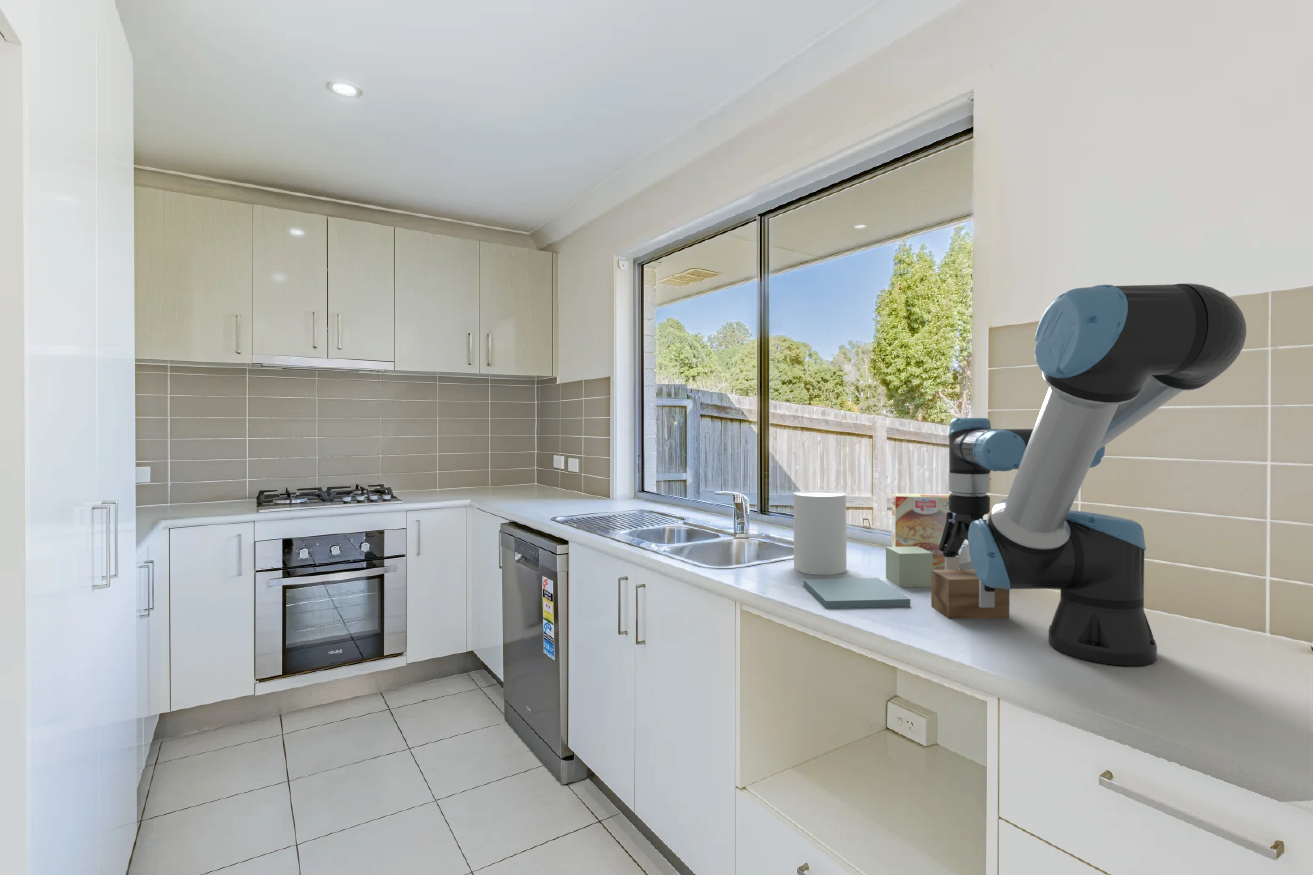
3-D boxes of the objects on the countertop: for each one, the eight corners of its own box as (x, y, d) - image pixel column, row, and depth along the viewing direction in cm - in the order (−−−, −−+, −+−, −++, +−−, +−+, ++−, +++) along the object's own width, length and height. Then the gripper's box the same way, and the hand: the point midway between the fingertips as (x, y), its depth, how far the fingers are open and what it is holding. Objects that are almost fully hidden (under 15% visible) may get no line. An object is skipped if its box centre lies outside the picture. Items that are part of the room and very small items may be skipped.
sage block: (932, 586, 150) (932, 553, 150) (899, 587, 150) (899, 553, 149) (917, 578, 158) (917, 546, 158) (885, 578, 158) (885, 546, 157)
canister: (836, 561, 176) (835, 490, 176) (854, 573, 163) (853, 496, 162) (788, 563, 175) (787, 491, 175) (802, 575, 162) (801, 497, 161)
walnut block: (1009, 618, 126) (1009, 578, 126) (948, 619, 126) (948, 579, 126) (988, 606, 134) (988, 569, 134) (931, 607, 134) (931, 569, 134)
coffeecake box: (895, 570, 166) (895, 495, 166) (891, 563, 173) (891, 492, 173) (956, 572, 163) (957, 496, 162) (950, 565, 170) (950, 493, 169)
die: (1000, 587, 150) (1010, 550, 154) (966, 569, 150) (977, 532, 154) (976, 591, 158) (987, 556, 162) (945, 574, 158) (956, 539, 162)
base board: (910, 606, 134) (910, 599, 134) (826, 608, 134) (826, 600, 134) (877, 584, 152) (877, 577, 152) (803, 585, 152) (803, 579, 152)
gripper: (1024, 502, 117) (1023, 615, 118) (956, 485, 142) (955, 579, 143) (984, 503, 117) (983, 616, 118) (923, 486, 141) (922, 580, 143)
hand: (968, 596), depth 130 cm, fingers open, 13 cm apart
